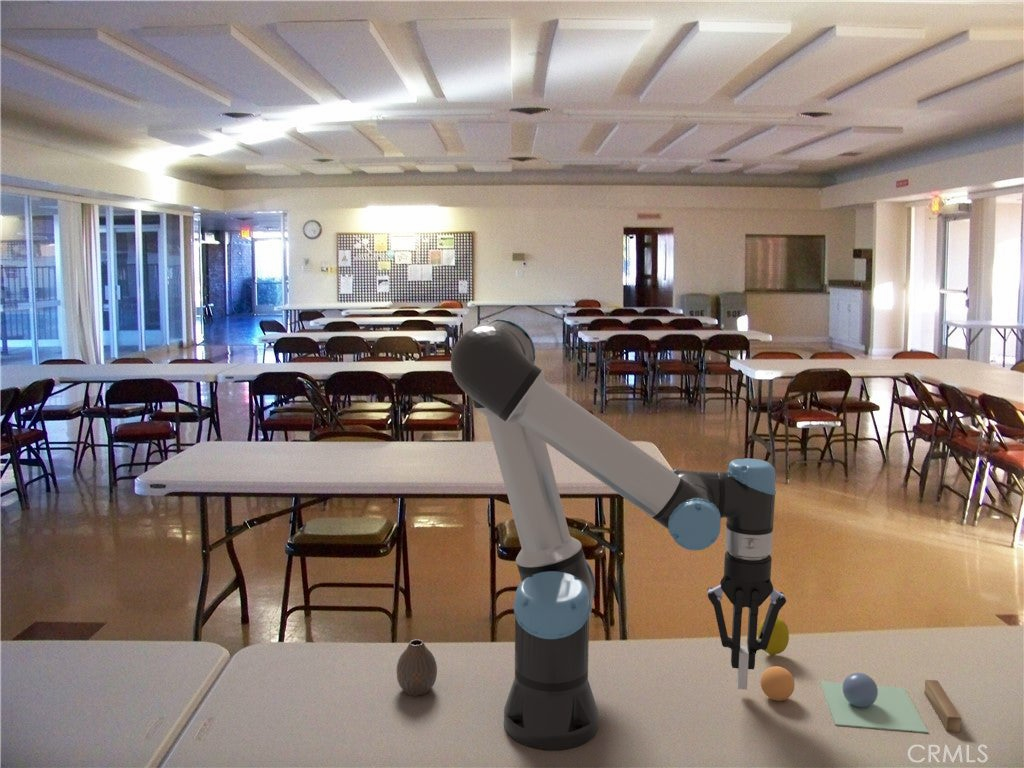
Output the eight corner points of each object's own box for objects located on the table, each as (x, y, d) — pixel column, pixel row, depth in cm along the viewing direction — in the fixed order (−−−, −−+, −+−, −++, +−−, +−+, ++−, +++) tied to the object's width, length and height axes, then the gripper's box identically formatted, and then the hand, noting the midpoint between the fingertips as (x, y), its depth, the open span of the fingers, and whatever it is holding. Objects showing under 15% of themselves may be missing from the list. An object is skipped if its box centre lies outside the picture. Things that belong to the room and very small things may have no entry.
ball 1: (794, 674, 146) (799, 705, 147) (789, 659, 152) (793, 689, 152) (760, 677, 147) (765, 708, 148) (756, 662, 153) (761, 692, 153)
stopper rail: (946, 731, 140) (947, 716, 140) (924, 693, 152) (925, 679, 152) (959, 732, 140) (961, 717, 140) (936, 694, 152) (937, 680, 151)
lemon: (789, 664, 162) (791, 622, 161) (757, 661, 164) (759, 620, 162) (786, 650, 168) (788, 610, 166) (755, 647, 169) (757, 608, 168)
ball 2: (878, 680, 144) (884, 711, 145) (870, 664, 150) (876, 694, 150) (843, 685, 145) (849, 716, 146) (836, 669, 151) (842, 699, 151)
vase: (411, 704, 148) (410, 655, 147) (389, 688, 154) (388, 641, 152) (445, 691, 153) (444, 643, 151) (422, 676, 158) (421, 629, 156)
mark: (835, 725, 142) (835, 724, 142) (819, 682, 156) (819, 681, 156) (928, 732, 140) (928, 731, 140) (904, 688, 154) (904, 687, 154)
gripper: (709, 558, 144) (703, 693, 148) (792, 563, 142) (784, 699, 146) (706, 542, 152) (701, 671, 156) (785, 547, 150) (778, 677, 154)
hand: (741, 685), depth 151 cm, fingers closed
